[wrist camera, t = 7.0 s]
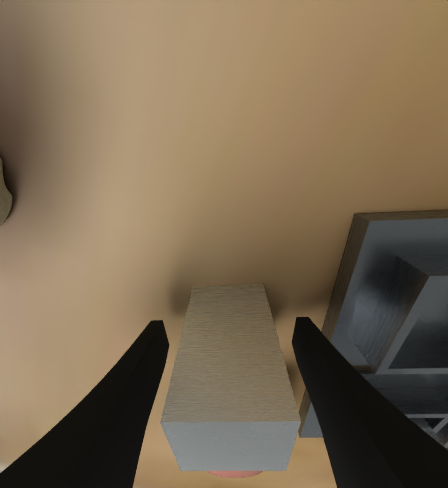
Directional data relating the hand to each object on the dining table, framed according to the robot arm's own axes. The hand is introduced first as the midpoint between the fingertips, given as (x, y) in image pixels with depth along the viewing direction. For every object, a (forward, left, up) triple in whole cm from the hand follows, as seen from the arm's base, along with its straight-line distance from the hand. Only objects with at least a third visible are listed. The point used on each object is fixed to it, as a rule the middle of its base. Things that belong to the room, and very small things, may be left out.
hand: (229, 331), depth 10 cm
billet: (0, 0, -2) cm, 2 cm away
